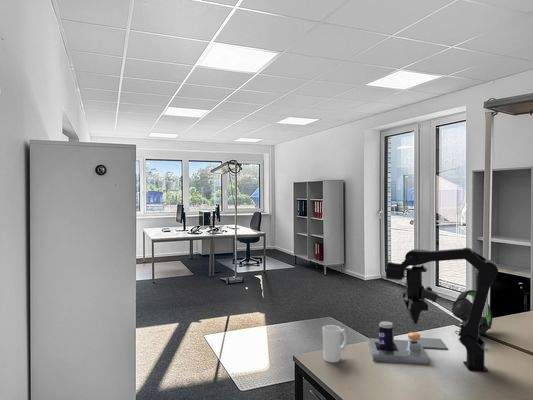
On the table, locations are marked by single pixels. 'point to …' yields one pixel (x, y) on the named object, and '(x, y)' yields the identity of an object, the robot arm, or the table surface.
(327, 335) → the mug
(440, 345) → the pad
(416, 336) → the peach dome cap
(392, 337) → the beverage can
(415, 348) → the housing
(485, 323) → the headset
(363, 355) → the table surface
